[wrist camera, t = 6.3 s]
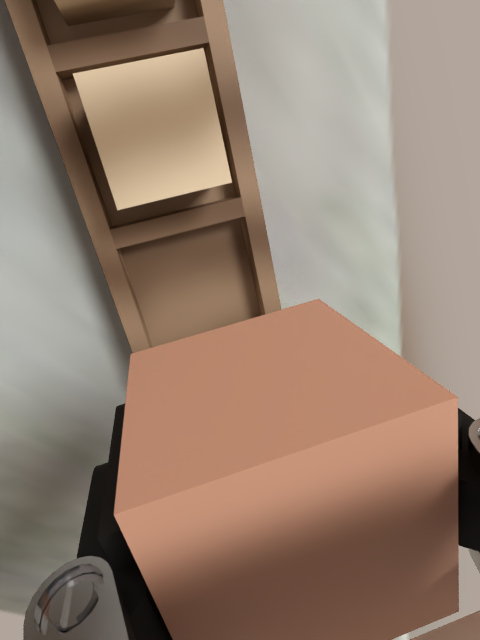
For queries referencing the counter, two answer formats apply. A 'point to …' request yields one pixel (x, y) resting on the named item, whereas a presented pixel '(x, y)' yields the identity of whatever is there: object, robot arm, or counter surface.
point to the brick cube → (290, 482)
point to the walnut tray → (173, 232)
